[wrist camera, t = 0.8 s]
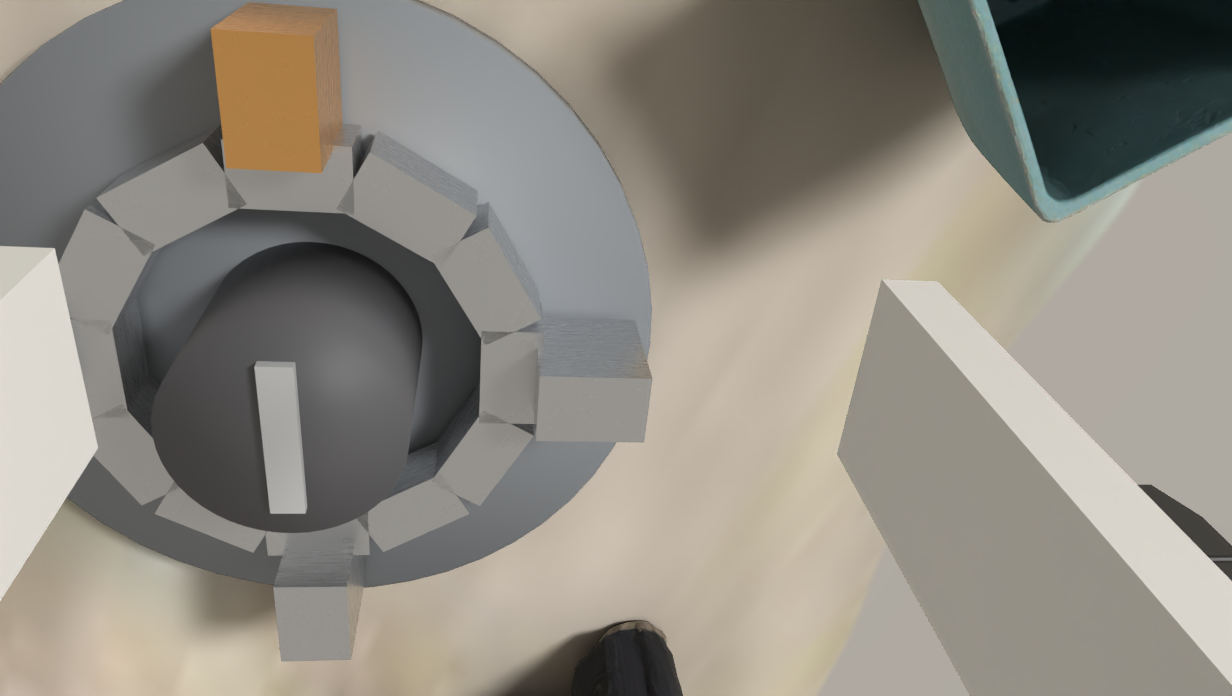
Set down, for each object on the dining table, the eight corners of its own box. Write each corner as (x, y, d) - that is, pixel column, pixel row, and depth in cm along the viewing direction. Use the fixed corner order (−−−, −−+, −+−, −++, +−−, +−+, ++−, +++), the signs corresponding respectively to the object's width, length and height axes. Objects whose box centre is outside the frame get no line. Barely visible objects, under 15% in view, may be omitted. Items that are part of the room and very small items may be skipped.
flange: (-136, -66, 25) (-354, -29, 19) (685, 3, 29) (742, 54, 22) (37, 570, 36) (-62, 732, 30) (615, 566, 40) (639, 710, 33)
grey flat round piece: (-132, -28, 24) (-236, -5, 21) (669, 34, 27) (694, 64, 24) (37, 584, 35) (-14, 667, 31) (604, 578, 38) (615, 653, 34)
